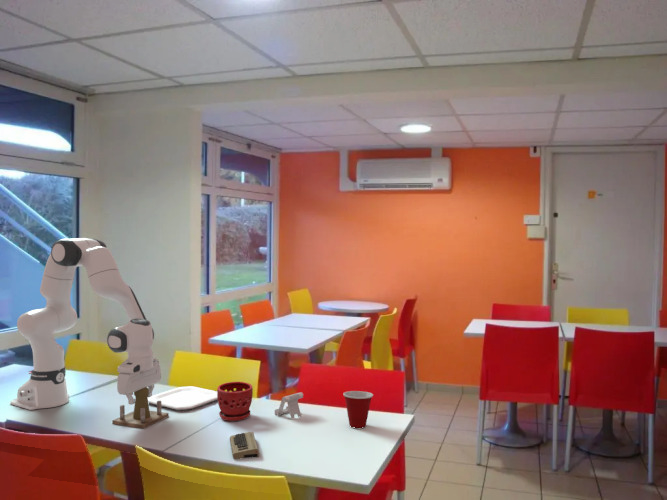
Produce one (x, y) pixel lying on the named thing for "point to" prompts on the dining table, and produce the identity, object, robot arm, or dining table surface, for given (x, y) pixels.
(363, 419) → the plastic cup
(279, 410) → the portable electronic device stand
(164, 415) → the standoff base
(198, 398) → the plate
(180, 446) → the dining table surface
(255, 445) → the computer
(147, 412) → the olive gourd
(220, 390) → the plant pot
